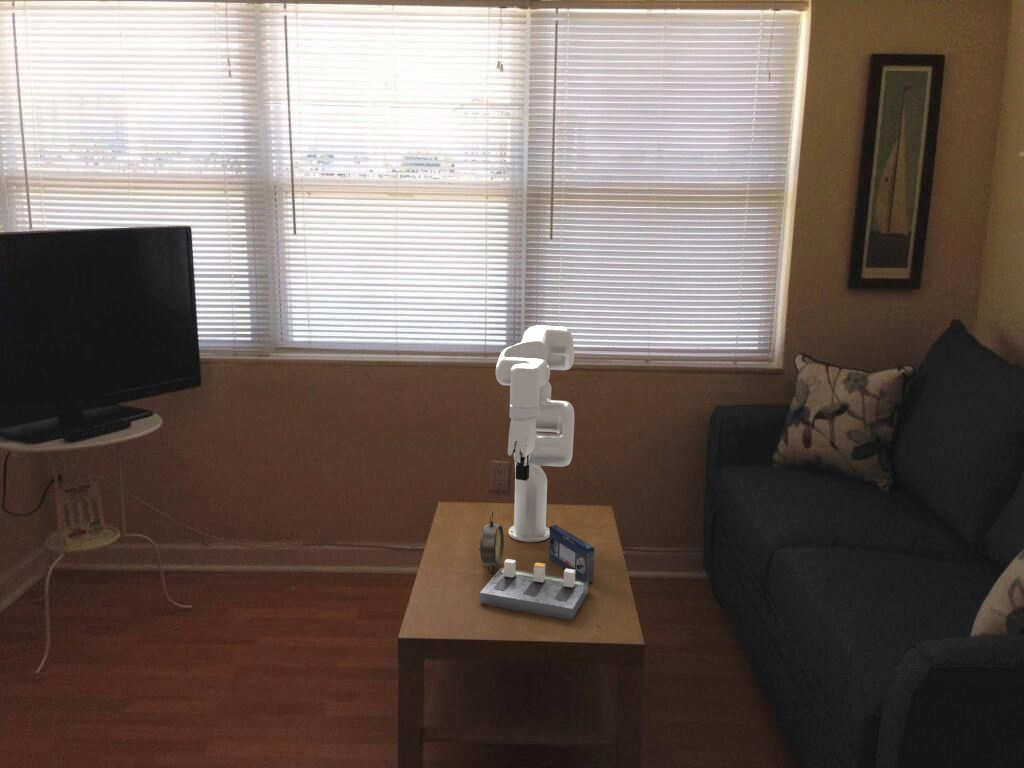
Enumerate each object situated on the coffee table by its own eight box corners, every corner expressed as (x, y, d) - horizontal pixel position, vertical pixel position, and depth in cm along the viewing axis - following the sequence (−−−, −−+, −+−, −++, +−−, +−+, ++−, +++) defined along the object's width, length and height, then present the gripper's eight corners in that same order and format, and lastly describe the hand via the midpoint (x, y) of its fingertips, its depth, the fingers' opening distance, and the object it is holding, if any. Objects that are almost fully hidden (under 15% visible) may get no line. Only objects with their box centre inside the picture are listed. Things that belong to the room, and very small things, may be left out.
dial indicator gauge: (495, 575, 244) (497, 519, 241) (476, 573, 246) (477, 517, 242) (504, 559, 255) (505, 505, 251) (485, 557, 256) (486, 503, 252)
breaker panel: (500, 578, 243) (500, 567, 242) (588, 592, 236) (588, 581, 235) (479, 603, 228) (479, 592, 228) (572, 620, 221) (572, 608, 220)
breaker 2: (565, 582, 233) (566, 568, 233) (574, 584, 233) (575, 569, 232) (563, 586, 232) (563, 571, 231) (572, 587, 231) (573, 572, 230)
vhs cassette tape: (548, 559, 256) (549, 525, 254) (556, 557, 258) (558, 524, 256) (584, 584, 241) (585, 549, 239) (593, 582, 242) (595, 547, 240)
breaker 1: (506, 573, 238) (506, 558, 237) (515, 574, 238) (515, 560, 237) (503, 576, 236) (504, 561, 236) (513, 577, 236) (513, 563, 235)
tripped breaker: (535, 577, 236) (536, 562, 235) (544, 579, 235) (545, 563, 234) (533, 580, 234) (533, 565, 233) (542, 582, 233) (543, 566, 232)
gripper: (519, 403, 244) (517, 469, 248) (500, 416, 230) (499, 486, 234) (546, 406, 241) (544, 472, 245) (529, 420, 228) (527, 489, 232)
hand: (522, 479), depth 240 cm, fingers closed
